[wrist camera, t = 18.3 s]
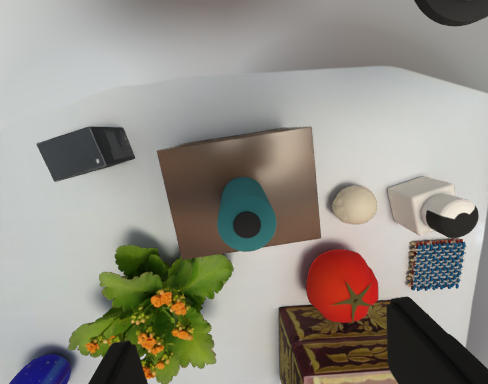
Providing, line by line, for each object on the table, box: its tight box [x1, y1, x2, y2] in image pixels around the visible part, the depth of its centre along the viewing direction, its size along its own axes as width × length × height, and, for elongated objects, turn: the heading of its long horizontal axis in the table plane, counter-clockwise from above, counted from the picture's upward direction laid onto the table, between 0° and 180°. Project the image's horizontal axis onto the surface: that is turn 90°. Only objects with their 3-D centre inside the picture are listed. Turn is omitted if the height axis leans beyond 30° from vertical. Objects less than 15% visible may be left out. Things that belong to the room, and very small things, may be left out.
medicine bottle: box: [387, 176, 478, 238], centre depth 43 cm, size 7×7×12 cm
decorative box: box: [279, 301, 398, 384], centre depth 49 cm, size 28×19×15 cm
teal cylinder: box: [217, 177, 277, 251], centre depth 27 cm, size 5×5×9 cm
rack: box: [157, 127, 321, 260], centre depth 39 cm, size 14×18×16 cm
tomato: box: [306, 249, 378, 323], centre depth 47 cm, size 13×12×11 cm
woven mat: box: [406, 239, 466, 291], centre depth 51 cm, size 10×11×2 cm
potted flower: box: [68, 245, 234, 384], centre depth 43 cm, size 25×24×18 cm
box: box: [37, 127, 135, 182], centre depth 39 cm, size 8×6×11 cm
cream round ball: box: [332, 185, 377, 224], centre depth 45 cm, size 7×7×7 cm
